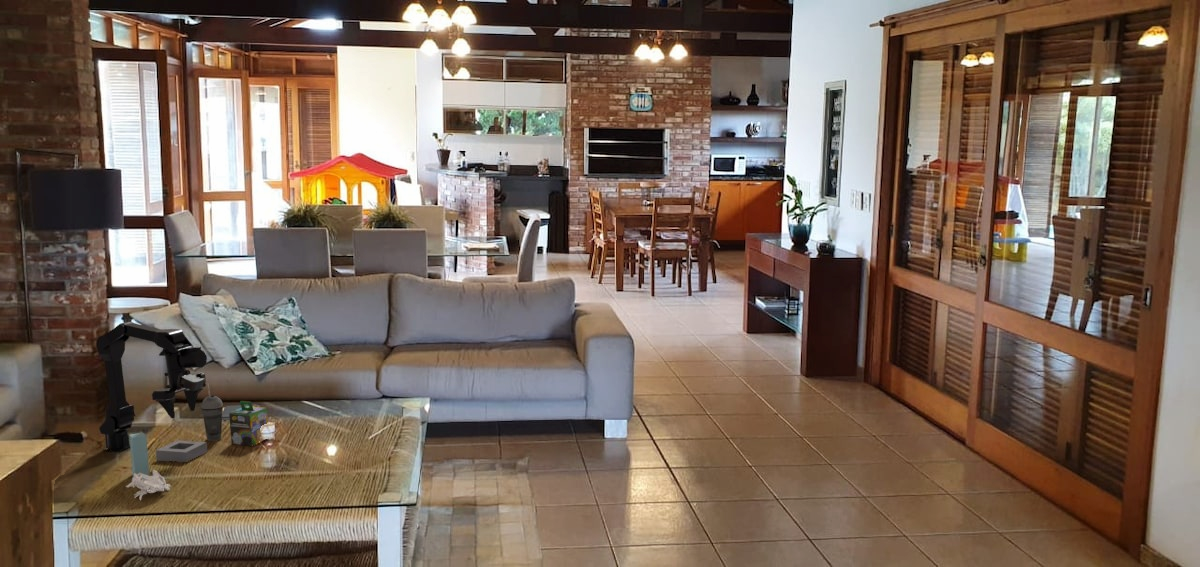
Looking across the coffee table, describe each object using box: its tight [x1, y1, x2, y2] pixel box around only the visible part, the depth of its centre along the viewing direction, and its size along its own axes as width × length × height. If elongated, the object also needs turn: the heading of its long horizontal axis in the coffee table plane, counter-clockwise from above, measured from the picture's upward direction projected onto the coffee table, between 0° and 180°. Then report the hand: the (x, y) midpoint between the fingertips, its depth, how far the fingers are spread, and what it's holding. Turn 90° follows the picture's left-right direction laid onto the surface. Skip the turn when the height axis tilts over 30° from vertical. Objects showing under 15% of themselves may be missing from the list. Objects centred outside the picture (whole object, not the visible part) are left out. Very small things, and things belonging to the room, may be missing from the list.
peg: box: [128, 432, 150, 477], centre depth 293 cm, size 4×4×13 cm
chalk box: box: [229, 400, 269, 447], centre depth 327 cm, size 9×9×15 cm
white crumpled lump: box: [125, 469, 172, 501], centre depth 277 cm, size 12×7×12 cm
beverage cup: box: [200, 383, 224, 442], centre depth 329 cm, size 7×7×20 cm
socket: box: [155, 439, 208, 463], centre depth 312 cm, size 11×11×4 cm
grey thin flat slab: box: [222, 403, 261, 420], centre depth 364 cm, size 20×2×15 cm
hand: (182, 414), depth 311 cm, fingers open, 9 cm apart
